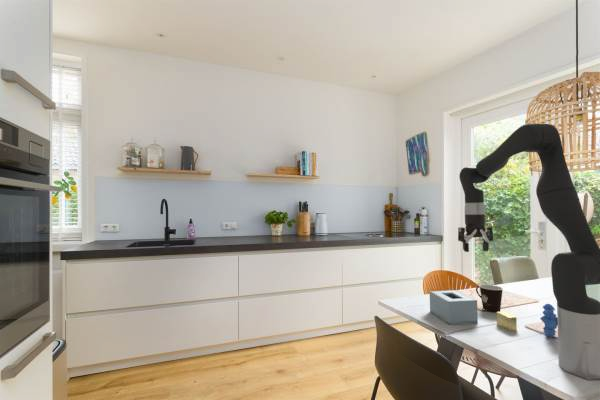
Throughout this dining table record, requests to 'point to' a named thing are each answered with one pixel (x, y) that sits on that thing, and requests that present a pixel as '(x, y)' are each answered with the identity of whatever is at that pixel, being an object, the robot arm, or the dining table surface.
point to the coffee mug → (490, 297)
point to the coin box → (453, 307)
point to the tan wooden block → (506, 321)
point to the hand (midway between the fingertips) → (476, 251)
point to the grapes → (549, 320)
